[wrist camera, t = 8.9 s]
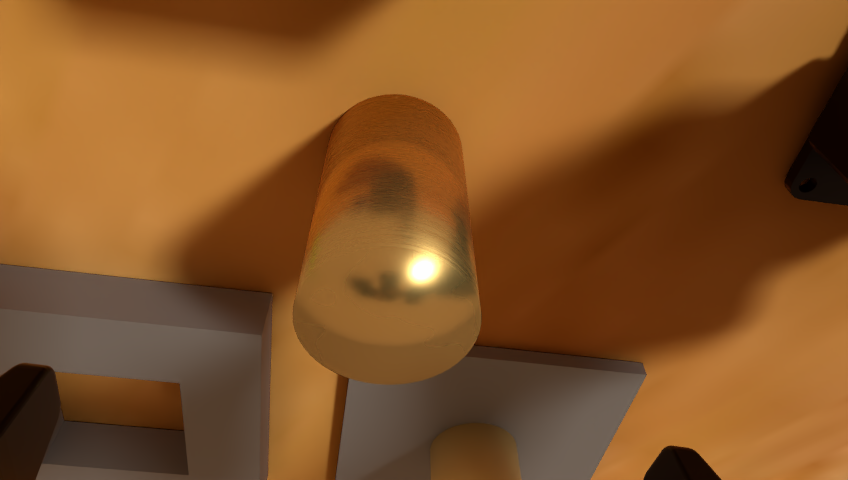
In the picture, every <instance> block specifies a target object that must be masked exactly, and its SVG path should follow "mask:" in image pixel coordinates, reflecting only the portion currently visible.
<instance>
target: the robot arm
mask: <svg viewBox="0 0 848 480" xmlns="http://www.w3.org/2000/svg"><path fill="white" fill-rule="evenodd" d="M808 178H810V179H809V181H808V182H807V183H805V184H803V185H800V184H801V182H802V181H804V180H806V179H808ZM784 182H785V187H786V188H787V189H788V191H789V192H790V193H791V194H792V195H793V196H794V197H795V198H798V199H802V200H810V201H817V202H824V203H832V204H839V205H847V206H848V68H847V70H846V72H845V73H844V75H843V77H842V79H841V80H840V82H839V84H838V86H837V87H836V89H835V91H834V93H833V94H832V96H831V98H830V100H829V101H828V103H827V105H826V107H825V108H824V110H823V112H822V113H821V115H820V117H819V119H818V120H817V122H816V124H815V126H814V127H813V129H812V131H811V133H810V134H809V137H808V139H807V141H806V143H805V144H804V146H803V148H802V150H801V151H800V153H799V155H798V157H797V158H796V160H795V162H794V164H793V165H792V167H791V169H790V171H789V172H788V174H787V176H786V178H785V181H784ZM60 409H61V403H60V397H59V392H58V386H57V381H56V376H55V372H54V370H53V368H52V367H50V366H47V365H40V364H32V363H20V364H17V365H15V366H14V367H12V368H11V369H9V370H8V371H6V372H5V373H4V374H2V375H1V376H0V480H36V478H37V475H38V472H39V470H40V467H41V464H42V462H43V459H44V456H45V454H46V451H47V448H48V446H49V443H50V440H51V438H52V435H53V432H54V430H55V427H56V424H57V422H58V419H59V415H60ZM644 480H721V479H720V478H719V476H718V475H717V474H716V473H715V472H714V471H713V470H712V468H711V467H710V466H709V465H708V464H707V463H706V462H705V461H704V459H703V458H702V457H701V456H700V455H699V454H698V453H697V452H696V451H694V450H693V449H690V448H686V447H678V446H667V447H665V448H664V449H663V450H662V451H661V453H660V454H659V456H658V457H657V458H656V460H655V461H654V463H653V464H652V465H651V467H650V468H649V470H648V471H647V472H646V474H645V477H644Z"/></svg>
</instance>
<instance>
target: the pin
mask: <svg viewBox="0 0 848 480" xmlns="http://www.w3.org/2000/svg"><path fill="white" fill-rule="evenodd" d="M293 324H294V328H295V332H296V334H297V336H298V339H299V340H300V342H301V344H302V345H303V347H304V348H305V349H306V351H307V352H308V353H309V354H310V355H311V356H312V357H313V358H314V359H315V360H316V361H318V362H319V363H320V364H322V365H323V366H324V367H326V368H328V369H329V370H331V371H333V372H335V373H337V374H339V375H342V376H344V377H347V378H350V379H353V380H356V381H361V382H365V383H372V384H383V385H396V384H406V383H413V382H417V381H422V380H425V379H428V378H431V377H434V376H436V375H438V374H441V373H443V372H444V371H446V370H448V369H450V368H451V367H453V366H454V365H455V364H457V363H458V362H459V361H460V360H462V359H463V358H464V357H465V356H466V355H467V353H468V352H469V351H470V350H471V348H472V347H473V345H474V343H475V342H476V340H477V337H478V335H479V332H480V327H481V307H480V298H479V289H478V281H477V272H476V264H475V255H474V247H473V238H472V229H471V221H470V212H469V204H468V195H467V187H466V178H465V169H464V161H463V152H462V145H461V141H460V138H459V135H458V132H457V130H456V128H455V127H454V125H453V124H452V122H451V121H450V120H449V118H448V117H447V116H446V115H445V114H444V113H443V112H441V111H440V110H439V109H438V108H436V107H435V106H433V105H432V104H430V103H428V102H426V101H424V100H421V99H418V98H415V97H411V96H407V95H397V94H391V95H381V96H376V97H373V98H369V99H367V100H364V101H362V102H360V103H358V104H356V105H355V106H353V107H352V108H350V109H349V110H348V111H347V112H346V113H345V114H344V115H343V116H342V117H341V118H340V119H339V121H338V122H337V123H336V125H335V127H334V129H333V131H332V133H331V136H330V139H329V143H328V148H327V153H326V157H325V162H324V166H323V171H322V176H321V180H320V185H319V190H318V194H317V199H316V203H315V208H314V213H313V217H312V222H311V227H310V231H309V236H308V240H307V245H306V250H305V254H304V259H303V264H302V268H301V273H300V277H299V282H298V287H297V291H296V296H295V301H294V306H293Z"/></svg>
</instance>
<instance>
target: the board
mask: <svg viewBox="0 0 848 480" xmlns="http://www.w3.org/2000/svg"><path fill="white" fill-rule="evenodd" d="M646 375H647V374H646V372H645V369H644V366H643V364H642V363H639V362H629V361H619V360H610V359H600V358H590V357H581V356H571V355H561V354H552V353H542V352H532V351H523V350H513V349H504V348H494V347H484V346H475V345H473V347H472V348H471V350H470V351H469V352H468V353H467V355H466V356H465V357H464V358H463V359H462V360H460V361H459V362H458V363H457V364H455V365H454V366H453V367H451V368H450V369H448V370H446V371H444V372H443V373H441V374H438V375H436V376H434V377H431V378H428V379H425V380H422V381H417V382H413V383H406V384H396V385H383V384H372V383H365V382H361V381H356V380H353V379H350V378H349V381H348V388H347V396H346V403H345V411H344V418H343V426H342V433H341V441H340V448H339V456H338V463H337V471H336V478H335V480H590V479H591V477H592V475H593V473H594V472H595V470H596V468H597V466H598V464H599V462H600V461H601V459H602V457H603V455H604V453H605V451H606V449H607V448H608V446H609V444H610V442H611V440H612V438H613V436H614V435H615V433H616V431H617V429H618V427H619V425H620V423H621V422H622V420H623V418H624V416H625V414H626V412H627V410H628V409H629V407H630V405H631V403H632V401H633V399H634V398H635V396H636V394H637V392H638V390H639V388H640V386H641V385H642V383H643V381H644V379H645V377H646Z"/></svg>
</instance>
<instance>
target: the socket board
mask: <svg viewBox="0 0 848 480" xmlns="http://www.w3.org/2000/svg"><path fill="white" fill-rule="evenodd" d="M271 330H272V294H271V293H262V292H253V291H243V290H234V289H225V288H216V287H207V286H197V285H188V284H179V283H170V282H160V281H151V280H142V279H133V278H124V277H114V276H105V275H96V274H87V273H78V272H68V271H59V270H50V269H41V268H31V267H22V266H13V265H4V264H0V376H1V375H2V374H4V373H5V372H6V371H8V370H9V369H11V368H12V367H14V366H15V365H17V364H20V363H32V364H40V365H47V366H50V367H52V368H53V370H54V372H65V373H75V374H86V375H97V376H108V377H118V378H129V379H140V380H151V381H161V382H172V383H180V392H181V402H182V412H183V422H184V431H177V430H165V429H154V428H142V427H131V426H119V425H107V424H96V423H84V422H72V421H64V418H63V414H62V411H61V409H60V415H59V419H58V422H57V424H56V427H55V430H54V432H53V435H52V438H51V440H50V443H49V446H48V448H47V451H46V454H45V456H44V459H43V462H42V464H41V467H40V470H39V472H38V475H37V478H36V480H267V477H268V448H269V408H270V369H271Z"/></svg>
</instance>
